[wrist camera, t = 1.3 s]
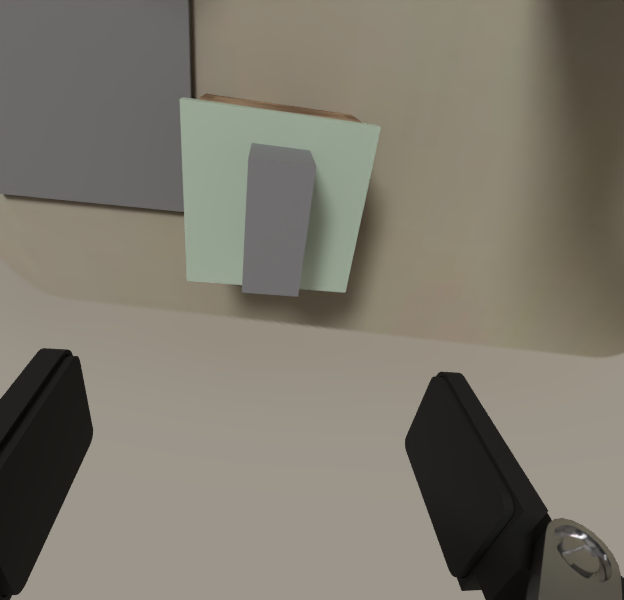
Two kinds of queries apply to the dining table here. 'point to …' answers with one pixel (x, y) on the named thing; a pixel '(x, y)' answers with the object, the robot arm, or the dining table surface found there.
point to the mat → (94, 100)
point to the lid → (272, 196)
